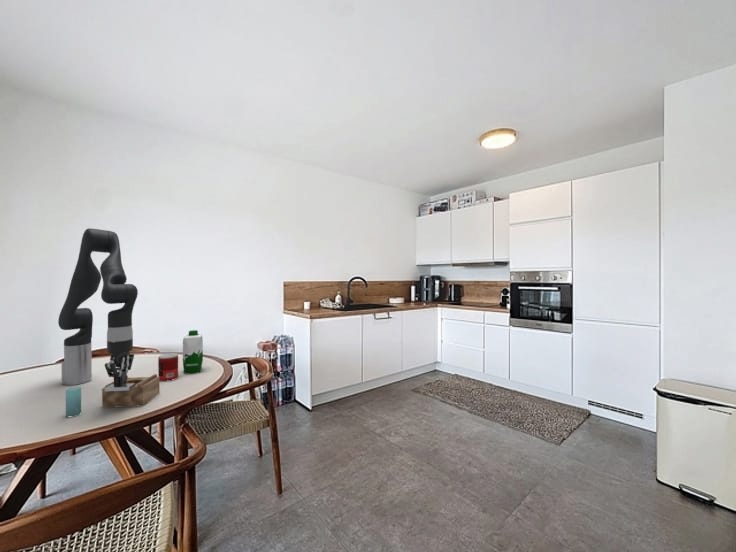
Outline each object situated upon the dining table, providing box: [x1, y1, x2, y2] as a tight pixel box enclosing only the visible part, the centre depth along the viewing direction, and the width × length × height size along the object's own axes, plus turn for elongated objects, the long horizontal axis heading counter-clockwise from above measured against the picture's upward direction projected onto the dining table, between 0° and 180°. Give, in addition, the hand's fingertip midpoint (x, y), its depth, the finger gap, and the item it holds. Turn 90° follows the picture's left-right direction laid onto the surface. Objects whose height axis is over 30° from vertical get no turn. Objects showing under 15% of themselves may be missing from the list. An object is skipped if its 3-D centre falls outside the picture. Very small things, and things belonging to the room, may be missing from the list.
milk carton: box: [182, 329, 204, 375], centre depth 161 cm, size 9×9×20 cm
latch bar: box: [105, 371, 135, 391], centre depth 118 cm, size 8×4×6 cm, turn 98°
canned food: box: [157, 352, 179, 382], centre depth 150 cm, size 8×8×11 cm
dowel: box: [65, 386, 82, 418], centre depth 113 cm, size 4×4×9 cm
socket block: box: [101, 373, 160, 408], centre depth 125 cm, size 14×12×8 cm
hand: (120, 385), depth 118 cm, fingers closed on latch bar, 2 cm apart
